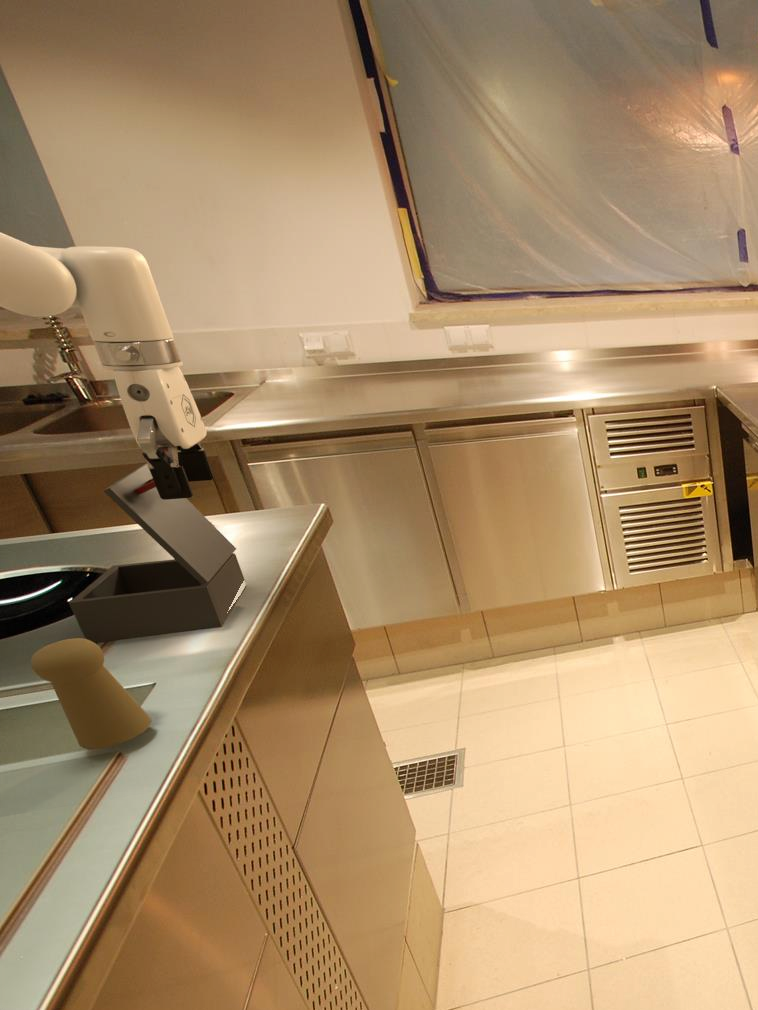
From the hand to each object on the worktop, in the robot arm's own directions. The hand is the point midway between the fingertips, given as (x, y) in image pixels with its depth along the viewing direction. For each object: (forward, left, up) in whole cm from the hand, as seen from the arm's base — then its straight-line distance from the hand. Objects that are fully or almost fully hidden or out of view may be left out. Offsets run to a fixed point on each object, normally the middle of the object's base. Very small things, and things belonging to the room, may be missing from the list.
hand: (189, 489), depth 112 cm
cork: (-3, -34, -18) cm, 39 cm away
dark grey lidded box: (-7, 0, -18) cm, 20 cm away
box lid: (-3, 0, -5) cm, 5 cm away
